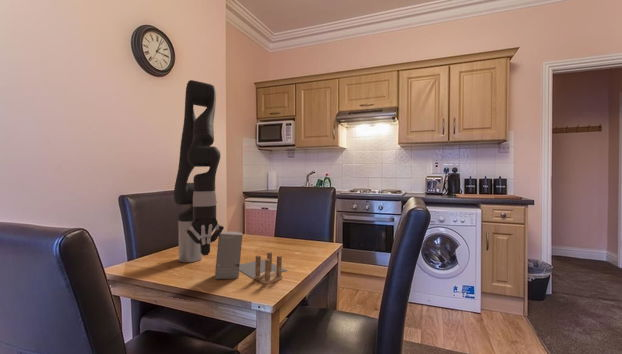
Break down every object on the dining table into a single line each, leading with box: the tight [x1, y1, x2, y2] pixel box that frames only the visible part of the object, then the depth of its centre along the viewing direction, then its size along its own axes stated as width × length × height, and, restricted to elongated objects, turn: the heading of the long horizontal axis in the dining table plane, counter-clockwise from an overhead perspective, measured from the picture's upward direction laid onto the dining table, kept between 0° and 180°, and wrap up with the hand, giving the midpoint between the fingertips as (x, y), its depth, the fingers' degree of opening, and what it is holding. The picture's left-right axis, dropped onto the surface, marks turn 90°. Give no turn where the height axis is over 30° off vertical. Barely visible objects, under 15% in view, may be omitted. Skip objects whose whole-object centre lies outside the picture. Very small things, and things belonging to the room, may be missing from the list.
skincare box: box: [214, 230, 243, 280], centre depth 106 cm, size 8×7×16 cm
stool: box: [253, 251, 283, 285], centre depth 103 cm, size 7×7×8 cm
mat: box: [239, 259, 288, 280], centre depth 115 cm, size 18×14×1 cm
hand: (205, 254), depth 101 cm, fingers closed
